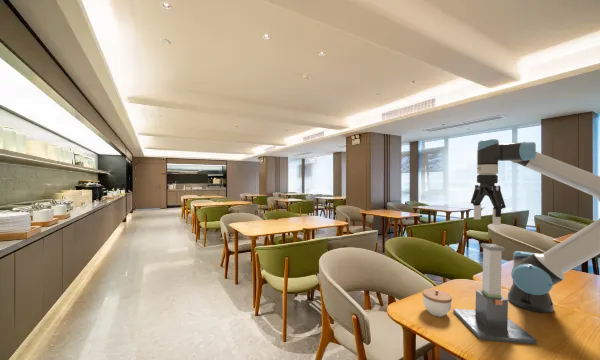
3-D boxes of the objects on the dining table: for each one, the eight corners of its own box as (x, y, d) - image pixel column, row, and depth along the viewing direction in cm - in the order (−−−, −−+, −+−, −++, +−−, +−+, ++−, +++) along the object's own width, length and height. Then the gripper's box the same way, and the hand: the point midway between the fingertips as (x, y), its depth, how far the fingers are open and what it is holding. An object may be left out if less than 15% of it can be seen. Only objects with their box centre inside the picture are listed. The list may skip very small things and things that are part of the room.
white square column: (494, 298, 97) (495, 244, 97) (503, 305, 92) (504, 247, 91) (479, 297, 97) (480, 243, 97) (488, 304, 92) (489, 247, 92)
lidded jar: (456, 321, 98) (456, 297, 98) (426, 318, 100) (426, 294, 100) (445, 307, 108) (446, 286, 108) (419, 304, 110) (419, 283, 110)
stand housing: (499, 315, 102) (500, 286, 102) (536, 344, 85) (537, 308, 85) (453, 312, 104) (454, 283, 104) (479, 339, 86) (480, 305, 86)
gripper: (463, 174, 125) (462, 217, 125) (497, 173, 100) (495, 226, 100) (479, 175, 124) (478, 217, 124) (517, 174, 99) (516, 227, 99)
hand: (486, 221), depth 112 cm, fingers open, 13 cm apart
